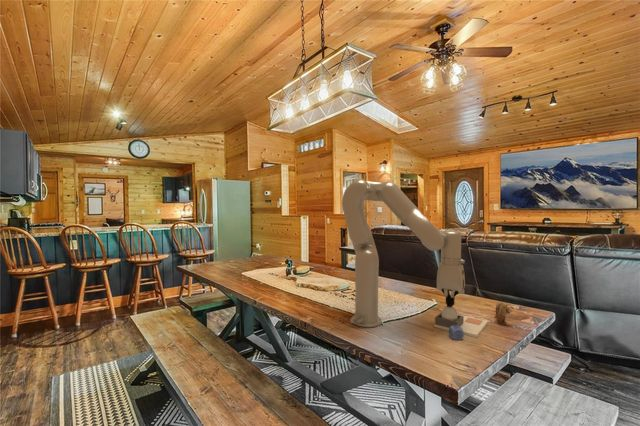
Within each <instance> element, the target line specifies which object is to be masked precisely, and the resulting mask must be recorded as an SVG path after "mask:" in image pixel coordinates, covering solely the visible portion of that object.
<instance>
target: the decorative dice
mask: <svg viewBox="0 0 640 426" xmlns="http://www.w3.org/2000/svg"><path fill="white" fill-rule="evenodd" d="M448 334H449V337H450V339H451V340H454V341H461V340H463V339H464V336H465V335H464V332H463V329H462V328H461V327H459V326H451V327H450V328H449V330H448Z"/></svg>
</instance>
